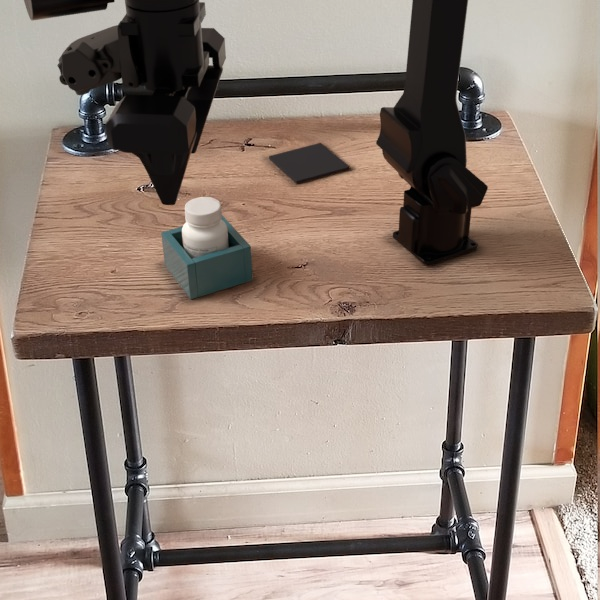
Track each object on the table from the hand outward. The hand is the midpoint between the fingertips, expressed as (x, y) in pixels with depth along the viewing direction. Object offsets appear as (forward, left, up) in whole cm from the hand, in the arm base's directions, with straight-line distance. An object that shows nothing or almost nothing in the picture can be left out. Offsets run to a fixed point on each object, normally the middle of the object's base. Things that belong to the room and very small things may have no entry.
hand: (179, 177), depth 85 cm
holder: (-3, -4, -14) cm, 14 cm away
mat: (-23, -19, -14) cm, 32 cm away
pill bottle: (-3, -4, -14) cm, 15 cm away
